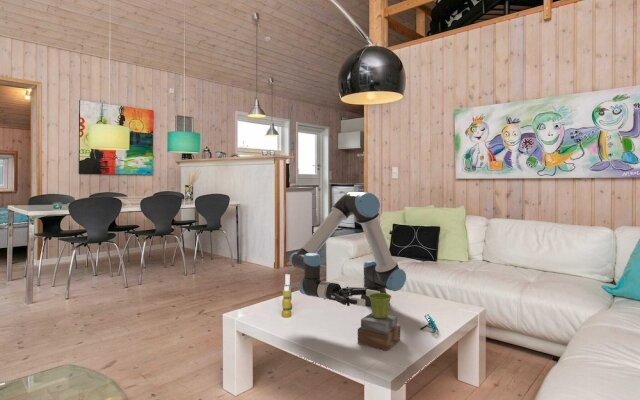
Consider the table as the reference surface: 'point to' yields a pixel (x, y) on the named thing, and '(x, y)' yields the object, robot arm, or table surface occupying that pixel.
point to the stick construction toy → (430, 320)
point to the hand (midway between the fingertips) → (372, 298)
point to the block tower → (379, 332)
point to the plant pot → (380, 304)
